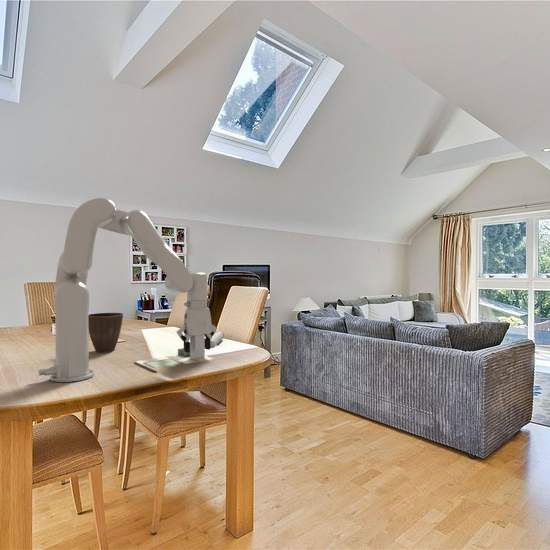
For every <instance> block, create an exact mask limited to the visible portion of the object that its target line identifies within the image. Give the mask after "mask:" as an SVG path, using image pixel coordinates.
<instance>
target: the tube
mask: <svg viewBox="0 0 550 550" xmlns="http://www.w3.org/2000/svg"><path fill="white" fill-rule="evenodd" d="M224 338H225V333H224V332H223V331H222V330H216V331H215V332H214V335H213V336H212V339H211V346H210V349H211V348H215V347H216V346H218V345H219V344H220V342H221V340H222V339H223V340H224ZM223 340H222V341H223Z"/></svg>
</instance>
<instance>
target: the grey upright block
mask: <svg viewBox="0 0 550 550" xmlns="http://www.w3.org/2000/svg"><path fill="white" fill-rule="evenodd" d="M205 338H206V337H205V335H196V336H191V338H190V339H189V342H190V359H194V360H199V359H205V356H206V353H205V352H206V349H205Z"/></svg>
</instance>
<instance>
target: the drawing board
mask: <svg viewBox="0 0 550 550" xmlns="http://www.w3.org/2000/svg"><path fill="white" fill-rule="evenodd" d="M211 360H215V358H214V357H211V356H207V355H205V359H199V360H194V359H190V353H187V352H185V351H184V347H182V348H177V354H176V355H175V354H174V355H169V356H163V357H155V358H148V359H143V360H136V361H133V364H134V366H137V367H139V368H141V369H144V370H146V371H148V372H150V373H152V374H154V373H156V374H157V373H158V371H157V370H158V369H162V368H163V369H164V368H170V367H177V366H180V365H181V366H182V365H188V364H194V363H200V362H205V361H211Z"/></svg>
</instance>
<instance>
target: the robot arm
mask: <svg viewBox="0 0 550 550" xmlns="http://www.w3.org/2000/svg"><path fill="white" fill-rule="evenodd" d="M99 229H103V230H107V231H110V232H114V233H118V234H121V235H125V236H131V238H132V239H133V240H134V242H135V243H136V245H137V246H138V248H139V249H140V251H141V252H142V254H143V255H144V257H146V258H147V259H148V260H149V261H150V262H152V263H154V264H155V265H157V266H158V267H159V269H161V270H162V272H163V273H164V274H165V275H166V276H165V279H164V285H165V288H166V289H167V290H168V291H170V292H173V293H179V294H181V293H182V294H184V293H186V302H184V303H183V306H184V307H186V308H185V311H184V315H183V325H181V327H180V328H179V329H177V330H176V334H177V335H178V337H179V339H180V340H182V342H183V348H184V351H185V352H187V353H190V338H191V336H196V335H205V350H208V351H209V350H211V348H210V346H211V339H212V336H213V335H214V333H215V332H216V331H217V326H215V325H214V324H212V317H211V316H212V315H211V310H210V308H209V307H208V275H207V273H205V272H190V271H189V269H188V268H187V266H186V265H185V264H184V262H183V260H181V258H180V257H179V256H178V255H177V254H176V253H175V252H174V251H173V249H172V248H171V247H170V246H169V245H168V244H167V243H166V241H165V240H164V238H163V237H162V236H161V234H160V232H159V231H158V230H157V228H156V227H155V225H154V224H153V221H151V219H150V217H149V216H148V215H147V214H146V213H145V212H144V211H143V210H139V209H134V210H133V209H132V210H130V211H125V210H121V209H118V208H117V206H116V204H115V203H114V202H113V200H111V199H109V198H107V197H97V198H92V199H90V200H87V201H86V202H83V203H81V205H80V206H78V207H77V208H76V210H74V211H73V213H72V216H71V217H70V220H69V223H68V226H67V230H66V234H65V235H66V237H65V240H64V241H65V242H64V247H63V252H62V253H61V254H60V256H59V257H58V263H57V270H56V275H55V282H54V290H53V296H54V299H55V300H54V301H55V303H54V304H55V309H54V310H55V312H54V313H55V315H54V317H55V321H54V329H55V336H54V337H55V363H53V364H52V366H50V367H48V368H41V369H37V370H38V372H37V374H38V376H49V380H50V381H51V382H54V381H55V383H72V381H73V382H79V381H83V380H86V379H90V378H92V377H93V376H94V374H95V371H94V370H92V369H90V364H89V362H90V357H89V355H90V354H89V353H90V349H89V344H90V341H89V340H90V339H89V338H90V334H89V328H88V316H89V312H90V311H89V310H90V291H89V289H88V287H87V281H88V274H89V271H90V270H91V269H92V266H93V259H94V258H93V255H94V248H95V243H96V237H97V233H98V230H99Z"/></svg>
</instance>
